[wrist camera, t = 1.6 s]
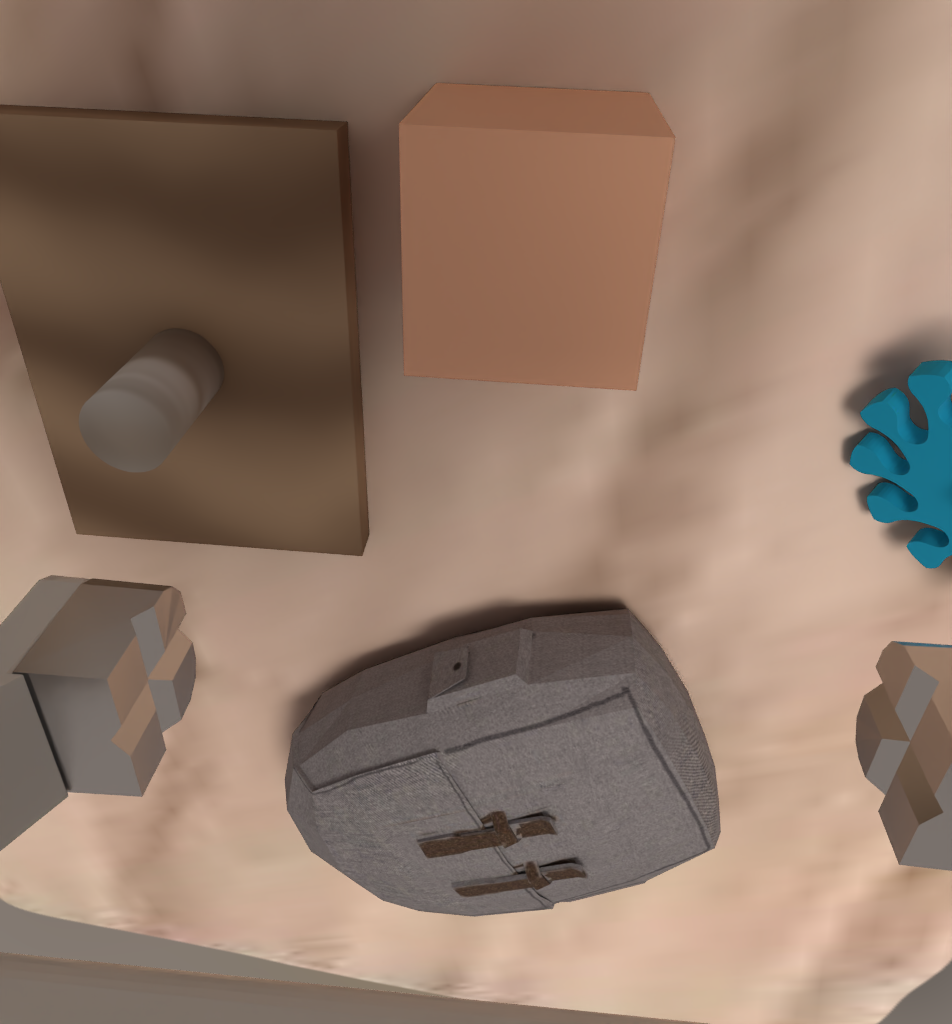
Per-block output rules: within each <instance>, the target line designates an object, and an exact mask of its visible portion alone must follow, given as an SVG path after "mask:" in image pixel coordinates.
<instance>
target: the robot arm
mask: <svg viewBox="0 0 952 1024" xmlns="http://www.w3.org/2000/svg"><path fill="white" fill-rule="evenodd" d="M185 615H186V610H185V606H184V603H183V599H182V595H181V592H180V591H179V590H177V589H176V588H174V587H172V586H163V585H153V584H143V583H132V582H122V581H112V580H102V579H85V578H74V577H64V576H54V575H51V576H48V577H46V578H43V579H41V580H39V581H38V582H37V583H36V584H35V585H34V586H33V588H32V589H31V590H30V591H29V592H28V593H27V595H26V596H25V597H24V598H23V599H22V600H21V602H20V603H19V604H18V605H17V606H16V607H15V608H14V610H13V611H12V612H11V613H10V614H9V615H8V617H7V618H6V619H5V620H4V621H3V622H2V624H1V625H0V851H1V850H2V849H3V848H5V847H6V846H7V845H8V844H10V843H11V842H12V841H13V840H14V839H16V838H17V837H18V836H19V835H21V834H22V833H23V832H24V831H26V830H27V829H28V828H29V827H31V826H32V825H33V824H34V823H36V822H37V821H38V820H39V819H41V818H42V817H43V816H44V815H46V814H47V813H48V812H49V811H51V810H52V809H53V808H54V807H55V806H57V805H58V804H59V803H60V802H62V801H63V800H64V799H65V798H67V797H68V793H67V792H75V793H92V794H108V795H124V796H141V797H142V796H143V794H144V792H145V790H146V788H147V786H148V784H149V782H150V780H151V778H152V776H153V774H154V773H155V771H156V769H157V767H158V765H159V763H160V761H161V759H162V757H163V755H164V753H165V751H166V747H165V743H164V739H163V735H162V732H164V731H165V730H167V729H168V728H170V727H171V726H173V725H174V724H176V723H177V722H179V721H180V720H181V719H182V717H183V715H184V713H185V711H186V709H187V706H188V704H189V702H190V700H191V695H192V691H193V686H194V682H195V678H196V657H195V652H194V647H193V642H192V641H191V640H190V639H189V638H188V637H187V636H186V635H185V634H184V633H183V632H182V631H180V630H179V629H178V628H179V626H180V624H181V622H182V621H183V619H184V617H185ZM876 669H877V671H878V673H879V675H880V678H881V680H882V682H883V683H882V684H881V685H879V686H878V687H876V688H875V689H873V690H872V691H870V692H869V693H867V694H866V695H864V698H863V701H862V703H861V706H860V709H859V712H858V715H857V722H856V746H857V752H858V757H859V761H860V764H861V766H862V769H863V772H864V775H865V777H866V778H867V779H868V780H869V781H870V782H871V783H872V784H874V785H875V786H876V787H877V788H878V789H879V790H880V791H882V792H883V793H884V794H885V798H884V800H883V802H882V804H881V807H880V809H879V811H878V812H879V814H880V817H881V819H882V822H883V824H884V827H885V830H886V832H887V835H888V837H889V840H890V842H891V845H892V847H893V850H894V853H895V855H896V858H897V860H898V863H899V865H907V866H915V867H924V868H933V869H941V870H950V871H952V645H941V644H926V643H912V642H897V641H891V642H890V643H889V644H888V645H887V647H886V648H885V649H884V650H883V651H882V653H881V656H880V658H879V660H878V663H877V665H876ZM0 1024H708V1023H698V1022H688V1021H678V1020H668V1019H658V1018H648V1017H638V1016H628V1015H618V1014H608V1013H598V1012H588V1011H578V1010H568V1009H558V1008H548V1007H538V1006H528V1005H518V1004H508V1003H499V1002H489V1001H479V1000H469V999H459V998H449V997H439V996H429V995H418V994H409V993H399V992H389V991H379V990H369V989H359V988H350V987H340V986H329V985H320V984H309V983H299V982H290V981H279V980H270V979H260V978H250V977H241V976H231V975H220V974H210V973H200V972H190V971H181V970H171V969H162V968H161V969H160V968H151V967H141V966H131V965H121V964H112V963H102V962H92V961H82V960H73V959H63V958H53V957H43V956H33V955H23V954H12V953H2V952H0Z"/></svg>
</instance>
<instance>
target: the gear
mask: <svg viewBox="0 0 952 1024" xmlns="http://www.w3.org/2000/svg"><path fill="white" fill-rule="evenodd" d="M908 386H909V389H910V391H911V392H912V394H913V395H914V396H915V397H916V398H917V399H918V400H919V402H920V403H921V405H922V406H923V408H924V410H925V412H926V415H927V419H928V430H924V429H921V428H919V427H917V426H916V425H915V424H914V423H913V422H912V421H911V419H910V414H909V413H910V405H909V401H908V398H907V397H906V395H905V394H904V393H903V392H902V391H900V390H899V389H897V388H890V389H887V390H885V391H883V392H881V393H880V394H878V395H877V396H876V397H875V398H873V399H872V400H871V401H870V402H869V403H868V405H867V406H866V407H865V408H864V409H863V410H862V411H861V412H860V415H861V417H862V419H863V420H864V421H865V422H866V423H867V424H868V425H869V426H871V427H872V428H874V429H876V430H878V431H880V432H882V433H883V434H885V435H886V436H887V437H889V438H890V439H891V440H892V441H893V442H894V443H895V444H896V445H897V446H898V447H899V448H900V450H901V451H902V453H903V454H904V456H905V457H906V459H907V460H908V461H907V460H904V459H902V458H901V457H899V456H898V455H897V454H896V453H895V451H894V450H893V448H892V447H891V445H890V443H889V442H888V441H887V440H886V439H885V438H884V437H882V436H881V435H879V434H877V433H873V432H869V433H868V434H867V435H866V436H865V437H864V438H863V439H862V440H861V441H860V443H859V444H858V445H857V446H856V447H855V448H854V450H853V452H852V454H851V458H850V465H851V466H852V467H853V468H854V469H856V470H857V471H859V472H861V473H865V474H872V475H876V476H880V477H883V478H885V479H888V480H890V481H892V482H894V483H896V484H897V485H899V486H900V487H902V488H903V489H905V490H906V491H908V492H909V493H910V494H912V495H913V496H914V497H913V496H911V495H909V494H908V493H906V492H905V491H904V490H902V489H901V488H899V487H898V486H896V485H894V484H891V483H887V482H882V483H879V484H878V485H877V486H876V487H875V488H874V489H873V491H872V492H871V493H870V494H869V495H868V496H867V503H868V507H869V510H870V512H871V514H872V516H873V518H874V519H875V520H877V521H880V522H883V523H891V522H894V521H898V520H912V521H918V522H922V523H925V524H928V525H931V526H934V527H937V528H939V529H941V530H942V531H940V530H937V529H933V528H922V529H920V530H919V531H918V532H917V533H916V534H915V536H914V537H913V538H912V539H911V541H910V542H909V543H908V544H907V548H908V550H909V551H910V552H911V554H912V555H913V556H914V557H915V558H916V559H917V560H918V561H919V562H920V563H921V564H922V565H923V566H925V567H926V568H936V567H938V566H940V565H941V563H942V562H943V561H944V559H945V558H947V557H949V556H951V555H952V402H951V394H952V361H945V360H936V361H927V362H922V363H921V364H920V365H919V366H918V367H917V368H916V369H915V371H914V372H913V373H912V374H911V375H910V376H909V379H908ZM943 531H944V532H943Z"/></svg>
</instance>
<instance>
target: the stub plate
mask: <svg viewBox="0 0 952 1024" xmlns="http://www.w3.org/2000/svg"><path fill="white" fill-rule="evenodd" d="M0 281H1V285H2V288H3V291H4V295H5V298H6V301H7V305H8V308H9V311H10V315H11V318H12V321H13V325H14V328H15V331H16V334H17V338H18V341H19V344H20V348H21V351H22V354H23V358H24V361H25V364H26V368H27V371H28V374H29V378H30V381H31V384H32V387H33V391H34V394H35V397H36V401H37V404H38V407H39V411H40V414H41V417H42V421H43V424H44V427H45V430H46V434H47V437H48V440H49V444H50V447H51V450H52V454H53V457H54V460H55V464H56V467H57V470H58V474H59V477H60V480H61V483H62V487H63V490H64V493H65V497H66V500H67V503H68V507H69V510H70V513H71V517H72V520H73V523H74V527H75V530H76V533H77V534H83V535H96V536H108V537H121V538H134V539H147V540H160V541H173V542H186V543H199V544H212V545H225V546H238V547H251V548H264V549H277V550H290V551H303V552H316V553H329V554H342V555H355V556H362V555H363V552H364V549H365V546H366V543H367V540H368V537H369V520H368V501H367V483H366V464H365V445H364V426H363V408H362V389H361V370H360V351H359V333H358V314H357V295H356V276H355V258H354V239H353V220H352V201H351V183H350V164H349V145H348V126H347V122H342V121H322V120H301V119H281V118H261V117H240V116H220V115H199V114H179V113H158V112H138V111H117V110H97V109H76V108H56V107H35V106H15V105H0Z"/></svg>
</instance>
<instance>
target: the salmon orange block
mask: <svg viewBox="0 0 952 1024" xmlns="http://www.w3.org/2000/svg"><path fill="white" fill-rule="evenodd" d="M674 144H675V136H674V134H673V133H672V131H671V129H670V128H669V126H668V124H667V123H666V121H665V119H664V117H663V116H662V114H661V112H660V111H659V109H658V107H657V105H656V104H655V102H654V100H653V99H652V97H651V95H650V94H649V93H644V92H622V91H600V90H578V89H557V88H535V87H513V86H492V85H470V84H448V83H436V84H435V85H434V86H433V87H432V88H431V89H430V90H429V92H428V93H427V94H426V95H425V96H424V97H423V98H422V99H421V100H420V101H419V103H418V104H417V105H416V106H415V107H414V108H413V109H412V110H411V111H410V112H409V114H408V115H407V116H406V117H405V118H404V119H403V120H402V121H401V122H400V123H399V159H400V207H401V254H402V302H403V350H404V376H419V377H434V378H450V379H465V380H480V381H496V382H511V383H526V384H542V385H557V386H572V387H588V388H603V389H618V390H634V391H636V389H637V383H638V376H639V370H640V363H641V357H642V350H643V344H644V337H645V331H646V325H647V318H648V312H649V305H650V299H651V292H652V286H653V279H654V273H655V266H656V260H657V254H658V247H659V241H660V234H661V228H662V221H663V215H664V208H665V202H666V195H667V189H668V182H669V176H670V170H671V163H672V157H673V150H674Z"/></svg>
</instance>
